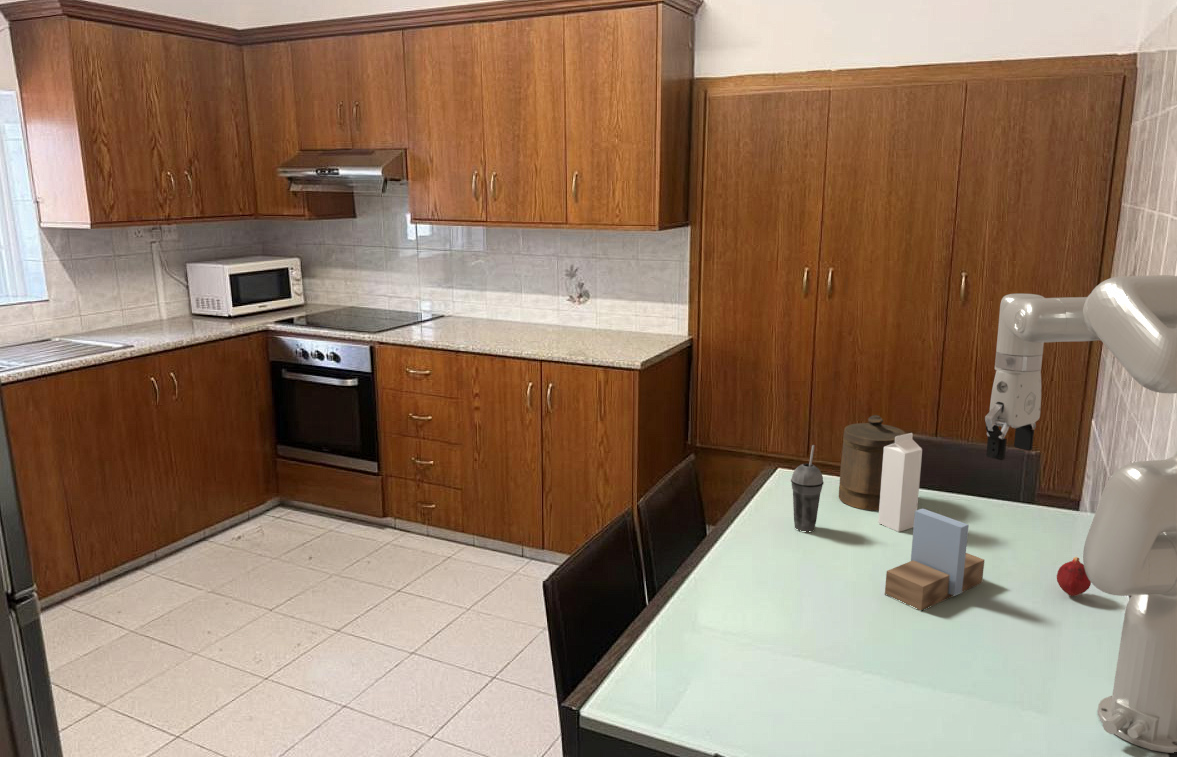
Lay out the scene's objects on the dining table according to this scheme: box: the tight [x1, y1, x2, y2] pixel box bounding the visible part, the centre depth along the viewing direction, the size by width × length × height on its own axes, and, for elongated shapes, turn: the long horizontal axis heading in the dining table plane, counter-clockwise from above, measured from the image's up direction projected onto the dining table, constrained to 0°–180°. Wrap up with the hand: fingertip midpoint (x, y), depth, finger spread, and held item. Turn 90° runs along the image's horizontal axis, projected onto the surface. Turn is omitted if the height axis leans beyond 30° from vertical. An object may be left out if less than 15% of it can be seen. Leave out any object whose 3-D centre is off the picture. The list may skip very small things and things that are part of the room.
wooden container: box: [838, 414, 907, 512], centre depth 213 cm, size 15×15×22 cm
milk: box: [877, 432, 923, 533], centre depth 197 cm, size 6×6×22 cm
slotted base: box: [884, 552, 985, 611], centre depth 168 cm, size 20×8×5 cm, turn 124°
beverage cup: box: [790, 444, 825, 533], centre depth 195 cm, size 7×7×20 cm
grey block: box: [910, 508, 969, 597], centre depth 167 cm, size 2×10×14 cm, turn 34°
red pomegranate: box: [1056, 556, 1092, 597], centre depth 164 cm, size 6×6×8 cm
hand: (1009, 453), depth 158 cm, fingers open, 9 cm apart
